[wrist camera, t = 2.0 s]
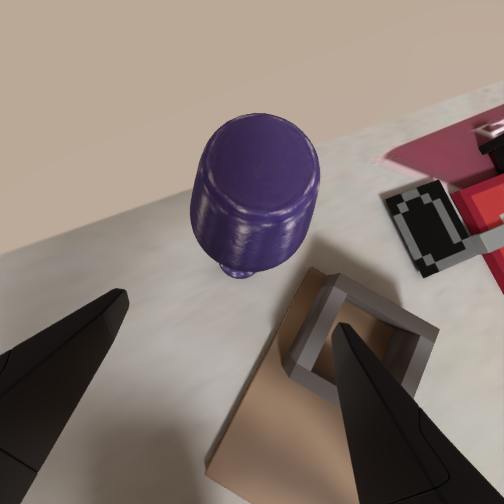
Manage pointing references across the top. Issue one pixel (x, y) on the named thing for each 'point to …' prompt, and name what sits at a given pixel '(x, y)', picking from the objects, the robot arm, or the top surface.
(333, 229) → the top surface
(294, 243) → the toy lamp
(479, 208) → the red board with handle
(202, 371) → the top surface
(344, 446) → the mount board
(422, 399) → the top surface
